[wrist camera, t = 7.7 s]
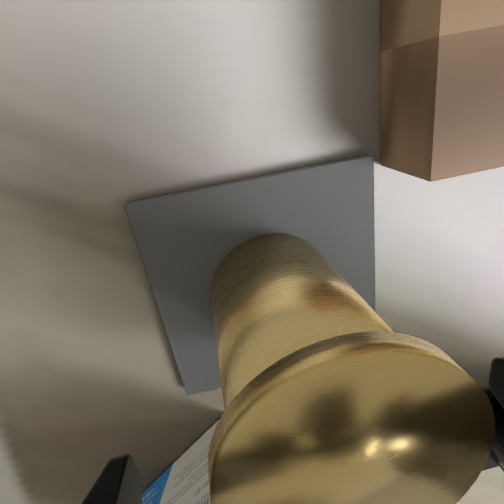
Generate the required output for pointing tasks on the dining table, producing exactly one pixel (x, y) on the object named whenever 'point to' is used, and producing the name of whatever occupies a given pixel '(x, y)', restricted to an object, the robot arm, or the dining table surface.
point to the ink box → (184, 477)
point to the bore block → (442, 86)
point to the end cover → (332, 392)
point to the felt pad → (240, 230)
